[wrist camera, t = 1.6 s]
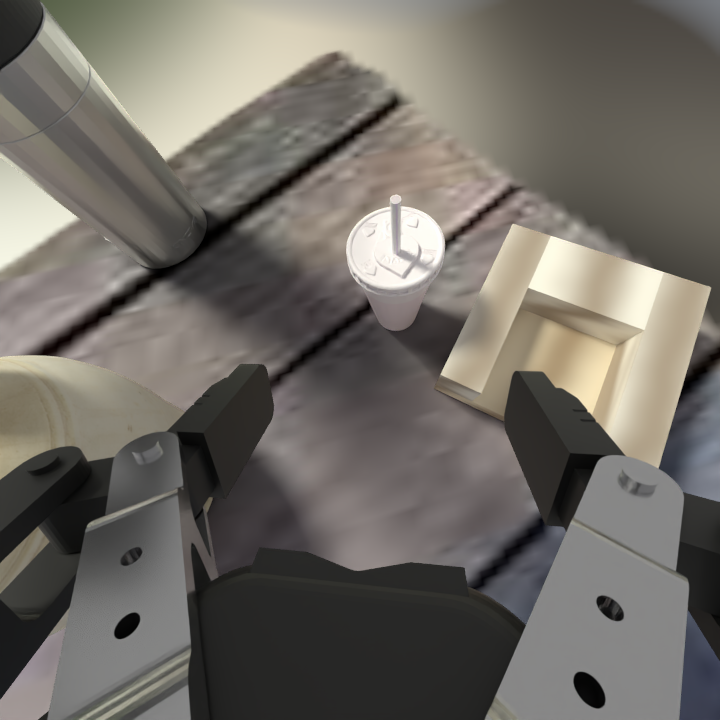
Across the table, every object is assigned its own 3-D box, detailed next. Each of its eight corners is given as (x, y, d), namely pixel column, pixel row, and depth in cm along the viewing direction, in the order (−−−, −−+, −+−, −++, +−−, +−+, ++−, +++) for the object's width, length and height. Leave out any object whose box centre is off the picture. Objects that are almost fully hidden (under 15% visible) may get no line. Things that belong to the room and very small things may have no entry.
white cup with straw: (367, 350, 29) (339, 255, 16) (357, 288, 31) (325, 157, 18) (438, 337, 28) (473, 228, 15) (423, 275, 30) (442, 132, 17)
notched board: (433, 388, 27) (440, 374, 23) (496, 257, 30) (512, 223, 26) (610, 472, 24) (656, 474, 19) (661, 315, 27) (711, 287, 22)
